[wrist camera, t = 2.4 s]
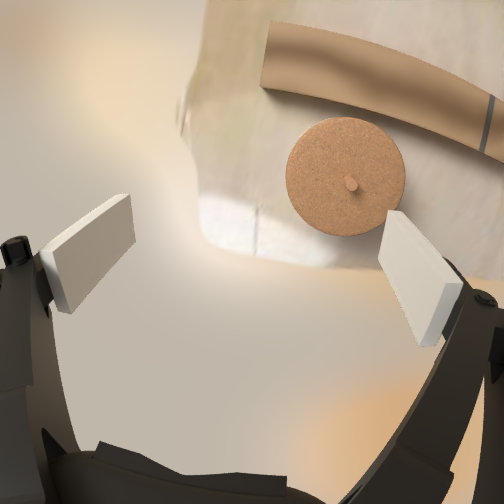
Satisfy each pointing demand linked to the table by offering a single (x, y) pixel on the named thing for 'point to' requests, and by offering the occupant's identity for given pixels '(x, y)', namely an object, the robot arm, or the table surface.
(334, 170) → the lidded jar
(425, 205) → the table surface
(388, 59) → the board
